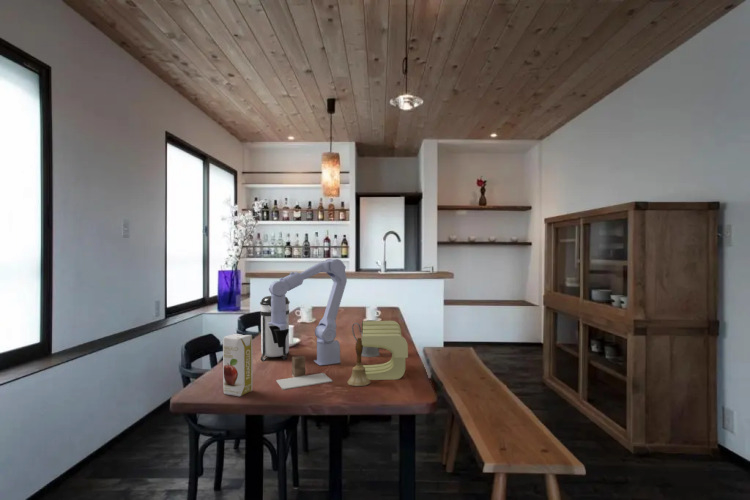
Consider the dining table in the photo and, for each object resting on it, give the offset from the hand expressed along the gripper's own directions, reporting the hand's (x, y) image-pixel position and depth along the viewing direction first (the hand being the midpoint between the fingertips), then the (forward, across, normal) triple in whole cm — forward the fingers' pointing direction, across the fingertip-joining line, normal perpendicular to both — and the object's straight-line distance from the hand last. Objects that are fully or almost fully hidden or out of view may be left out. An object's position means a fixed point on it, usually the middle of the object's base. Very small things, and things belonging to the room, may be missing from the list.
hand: (279, 345), depth 158 cm
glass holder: (+10, -6, +41) cm, 42 cm away
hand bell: (+10, +29, +22) cm, 38 cm away
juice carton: (+10, +19, -18) cm, 28 cm away
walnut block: (+10, +11, +5) cm, 16 cm away
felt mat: (+10, +19, +5) cm, 22 cm away
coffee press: (+10, -21, +3) cm, 23 cm away
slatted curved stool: (+10, +25, +34) cm, 43 cm away
